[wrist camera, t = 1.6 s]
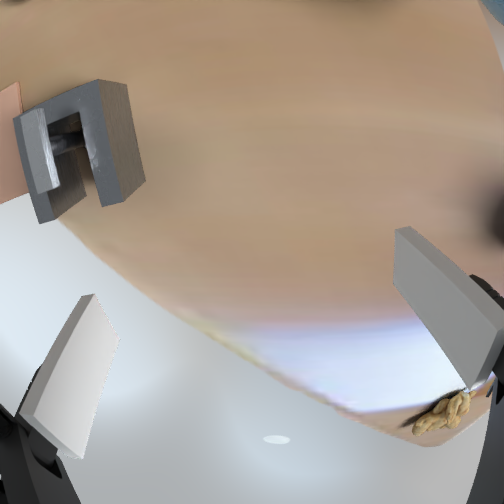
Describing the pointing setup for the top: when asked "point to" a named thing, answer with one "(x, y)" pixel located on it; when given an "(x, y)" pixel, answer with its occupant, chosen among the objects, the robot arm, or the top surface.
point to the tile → (10, 146)
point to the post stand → (46, 148)
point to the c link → (88, 147)
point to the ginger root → (444, 414)
